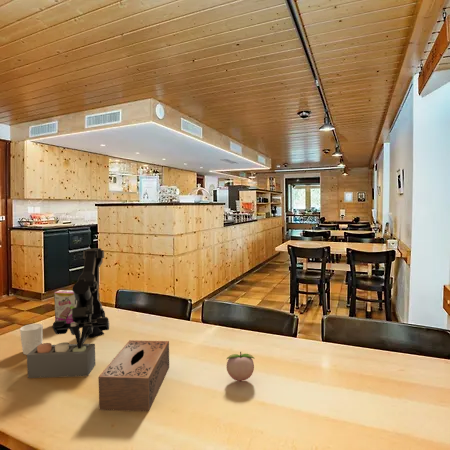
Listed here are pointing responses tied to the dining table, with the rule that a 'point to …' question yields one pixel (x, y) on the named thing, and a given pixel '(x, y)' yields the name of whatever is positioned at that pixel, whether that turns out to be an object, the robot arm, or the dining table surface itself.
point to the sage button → (79, 349)
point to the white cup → (31, 337)
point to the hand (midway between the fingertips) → (79, 348)
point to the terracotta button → (44, 348)
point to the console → (61, 362)
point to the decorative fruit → (240, 366)
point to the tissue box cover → (134, 376)
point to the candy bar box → (64, 305)
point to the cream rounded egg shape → (62, 347)
